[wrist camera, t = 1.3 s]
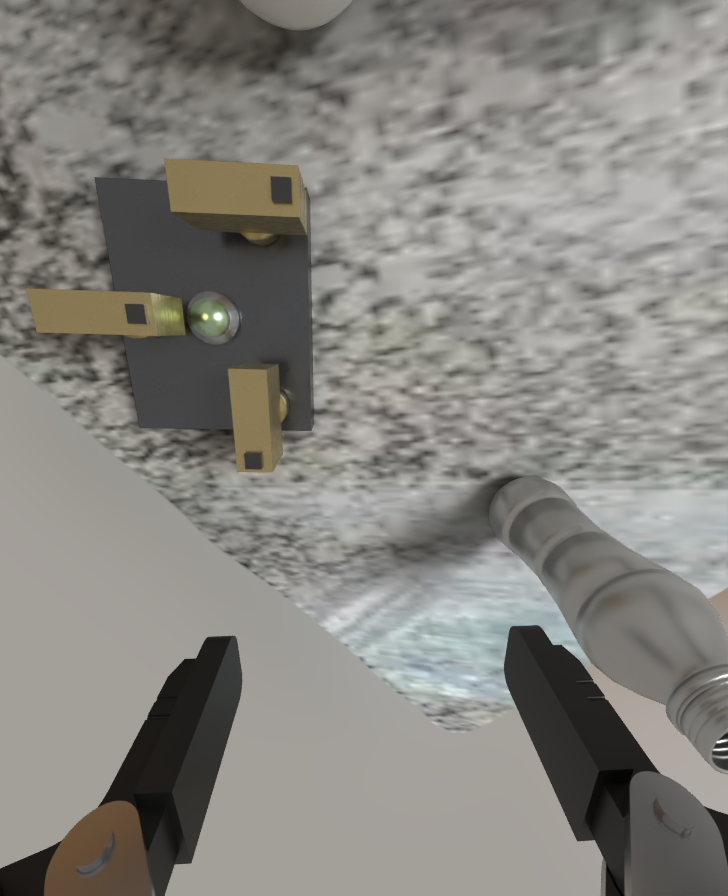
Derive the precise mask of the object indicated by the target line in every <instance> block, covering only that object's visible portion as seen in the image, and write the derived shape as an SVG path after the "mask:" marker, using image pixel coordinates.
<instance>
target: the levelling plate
mask: <svg viewBox="0 0 728 896" xmlns="http://www.w3.org/2000/svg"><path fill="white" fill-rule="evenodd" d="M95 183H96V188H97V194H98V199H99V205H100V211H101V216H102V222H103V227H104V233H105V238H106V244H107V249H108V255H109V260H110V266H111V272H112V277H113V283H114V288H115V292H145V293H155V294H160V295H165V296H171V297H176V298H181V301H182V308H183V316H184V324H185V332H186V335H171V336H159V337H156V338H130V337H127V336H125V335H123V338H124V344H125V349H126V355H127V360H128V366H129V372H130V377H131V383H132V388H133V394H134V399H135V405H136V410H137V416H138V421H139V427H140V428H175V429H233V419H232V408H231V397H230V386H229V376H228V369H229V368H232V367H235V366H238V365H242V364H245V363H255V364H279V385H280V390H281V391H282V392H283V393H284V394H285V395H286V397H287V398H288V401H289V411H288V414H287V415H286V417H285V418H284V420H283V421H282V422H281V427H282V430H295V431H311V430H312V428H313V425H314V406H313V349H312V291H311V234H310V198H309V194H308V191H307V188H305V190H306V200H307V235H286V234H279V236H278V238H277V239H276V240H275V241H274V242H272V243H271V244H268V245H264V246H260V245H256V244H253V243H251V242H250V241H248V240H247V239H246V238H245V237H244V236H243V235H242V234H240V233H238V232H215V231H199V230H198V229H196V228H195V227H193V226H192V225H190V224H189V223H187V222H186V221H184V220H183V219H181V218H180V217H178V216H177V215H175V214H174V213H172V212H171V208H170V200H169V192H168V184H167V181H158V180H138V179H117V178H97V177H95Z"/></svg>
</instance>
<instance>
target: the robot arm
mask: <svg viewBox="0 0 728 896" xmlns="http://www.w3.org/2000/svg"><path fill="white" fill-rule="evenodd" d="M504 673H505V679H506V683H507V686H508V689H509V691H510V693H511V696H512V698H513V700H514V702H515V704H516V707H517V709H518V711H519V713H520V715H521V718H522V720H523V722H524V724H525V727H526V729H527V731H528V733H529V735H530V738H531V740H532V742H533V744H534V747H535V749H536V751H537V753H538V755H539V757H540V760H541V762H542V764H543V766H544V769H545V771H546V773H547V775H548V777H549V779H550V782H551V784H552V786H553V788H554V791H555V793H556V795H557V797H558V800H559V802H560V804H561V806H562V809H563V811H564V813H565V815H566V817H567V819H568V822H569V824H570V826H571V828H572V831H573V833H574V835H575V837H576V839H577V841H589V840H595V841H596V843H597V845H598V847H599V849H600V851H601V853H602V856H603V861H602V871H601V896H728V815H727V814H724V813H721V812H718V811H715V810H712V809H709V808H707V807H705V806H703V805H702V804H701V803H700V801H699V800H698V799H696V797H695V796H693V795H692V794H691V793H690V792H689V791H688V790H687V789H685V788H684V787H683V786H681V785H680V784H679V783H677V782H675V781H674V780H672V779H670V778H668V777H666V776H664V775H662V774H660V773H659V771H658V770H657V769H656V768H655V766H654V765H653V764H652V762H651V761H650V759H649V758H648V757H647V755H646V754H645V752H644V751H643V749H642V748H641V747H640V745H639V744H638V742H637V741H636V740H635V738H634V737H633V735H632V734H631V732H630V731H629V730H628V728H627V727H626V726H625V724H624V723H623V721H622V720H621V718H620V717H619V716H618V714H617V713H616V711H615V710H614V708H613V707H612V706H611V704H610V703H609V702H608V700H606V699H605V697H604V694H603V693H602V692H601V690H600V689H599V687H598V686H597V684H594V682H593V679H592V678H591V676H590V675H589V673H588V672H587V670H586V669H585V667H584V666H583V665H582V663H581V662H580V661H579V660H578V659H577V658H576V657H575V656H574V655H572V654H571V653H570V652H569V651H568V650H567V649H565V648H564V647H563V646H562V645H553V644H552V643H551V641H550V640H549V638H548V637H547V635H546V634H545V632H544V631H543V629H542V628H541V627H540V626H538V625H533V626H512V627H511V628H510V631H509V637H508V643H507V650H506V656H505V662H504ZM241 689H242V670H241V664H240V657H239V650H238V644H237V639H236V637H235V636H220V637H219V636H217V637H207V638H206V640H205V641H204V643H203V645H202V647H201V649H200V652H199V654H198V656H197V658H196V659H184V660H183V662H182V663H181V664H180V665H179V666H178V667H177V668H176V669H175V670H174V671H173V672H172V673H171V674H170V675H169V676H168V678H167V680H166V682H165V684H164V685H163V687H162V689H161V691H160V693H159V695H158V697H157V701H156V702H155V703H154V705H153V706H152V708H151V710H150V712H149V714H148V718H147V720H145V722H144V724H143V726H142V728H141V729H140V731H139V733H138V735H137V737H136V739H135V741H134V743H133V745H132V747H131V749H130V750H129V752H128V754H127V756H126V758H125V760H124V762H123V764H122V766H121V768H120V769H119V771H118V773H117V775H116V777H115V779H114V781H113V783H112V785H111V787H110V789H109V790H108V792H107V794H106V796H105V797H104V799H103V801H102V802H101V804H100V805H99V806H98V808H96V809H95V810H93V811H92V812H90V813H89V814H88V815H86V816H85V817H84V818H83V819H81V820H80V821H79V822H78V823H77V824H76V825H75V826H74V827H73V828H72V829H71V830H70V831H69V833H68V834H67V835H66V836H65V838H64V839H63V840H62V841H60V842H58V843H57V844H55V845H53V846H51V847H49V848H47V849H45V850H43V851H40V852H38V853H35V854H33V855H31V856H28V857H26V858H24V859H21V860H19V861H17V862H15V863H12V864H10V865H8V866H5V867H3V868H1V869H0V896H165V892H166V889H167V886H168V883H169V880H170V877H171V874H172V871H173V867H174V865H175V864H188V863H191V862H192V859H193V856H194V852H195V849H196V846H197V842H198V839H199V835H200V832H201V829H202V825H203V822H204V818H205V815H206V812H207V808H208V805H209V802H210V798H211V795H212V791H213V788H214V785H215V781H216V778H217V774H218V771H219V768H220V764H221V761H222V758H223V754H224V751H225V747H226V744H227V740H228V737H229V734H230V731H231V727H232V723H233V720H234V717H235V713H236V710H237V707H238V703H239V700H240V695H241Z"/></svg>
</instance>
